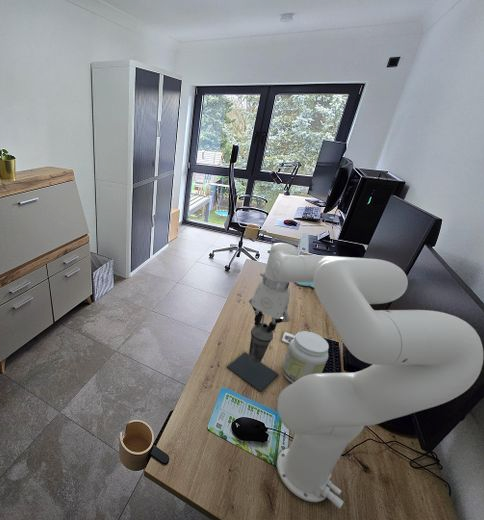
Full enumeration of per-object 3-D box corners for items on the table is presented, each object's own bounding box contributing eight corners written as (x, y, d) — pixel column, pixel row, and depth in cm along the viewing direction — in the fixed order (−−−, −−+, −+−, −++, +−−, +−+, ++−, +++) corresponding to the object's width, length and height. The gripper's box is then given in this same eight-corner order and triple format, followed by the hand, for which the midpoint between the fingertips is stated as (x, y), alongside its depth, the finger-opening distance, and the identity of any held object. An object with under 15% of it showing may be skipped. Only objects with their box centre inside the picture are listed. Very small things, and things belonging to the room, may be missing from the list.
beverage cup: (267, 367, 102) (281, 323, 93) (246, 364, 103) (257, 320, 94) (263, 352, 109) (276, 309, 99) (243, 349, 110) (254, 307, 100)
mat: (277, 375, 107) (278, 374, 107) (260, 392, 101) (260, 391, 100) (244, 353, 117) (245, 352, 117) (226, 367, 110) (227, 366, 110)
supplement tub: (312, 366, 111) (326, 332, 103) (321, 393, 101) (337, 357, 93) (278, 359, 114) (289, 326, 106) (283, 384, 103) (296, 349, 96)
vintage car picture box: (322, 346, 121) (326, 338, 119) (321, 356, 116) (325, 347, 114) (284, 332, 128) (286, 324, 126) (281, 341, 123) (284, 333, 121)
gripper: (245, 274, 95) (236, 319, 103) (297, 297, 83) (282, 345, 91) (258, 268, 99) (248, 311, 107) (308, 289, 87) (293, 335, 95)
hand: (263, 326), depth 99 cm, fingers closed on beverage cup, 4 cm apart
